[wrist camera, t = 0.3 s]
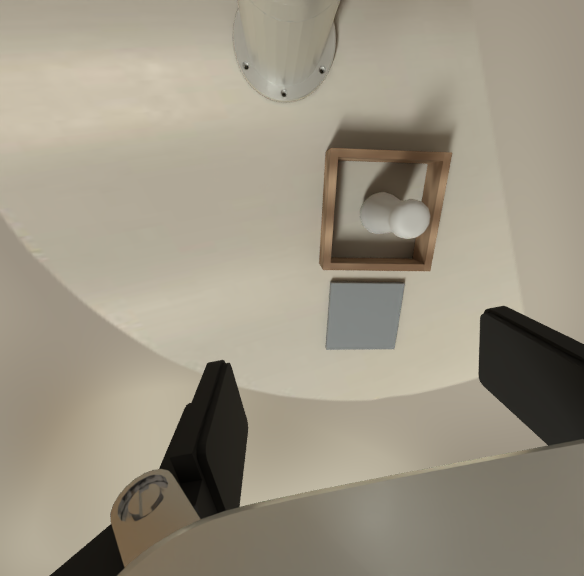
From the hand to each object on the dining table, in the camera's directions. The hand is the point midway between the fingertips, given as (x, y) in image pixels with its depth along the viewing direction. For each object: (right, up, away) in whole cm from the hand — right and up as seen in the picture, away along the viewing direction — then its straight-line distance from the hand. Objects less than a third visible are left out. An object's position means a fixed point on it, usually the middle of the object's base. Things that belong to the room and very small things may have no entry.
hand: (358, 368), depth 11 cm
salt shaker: (+10, +14, +33) cm, 37 cm away
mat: (+10, -2, +38) cm, 39 cm away
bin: (+10, +14, +33) cm, 37 cm away
